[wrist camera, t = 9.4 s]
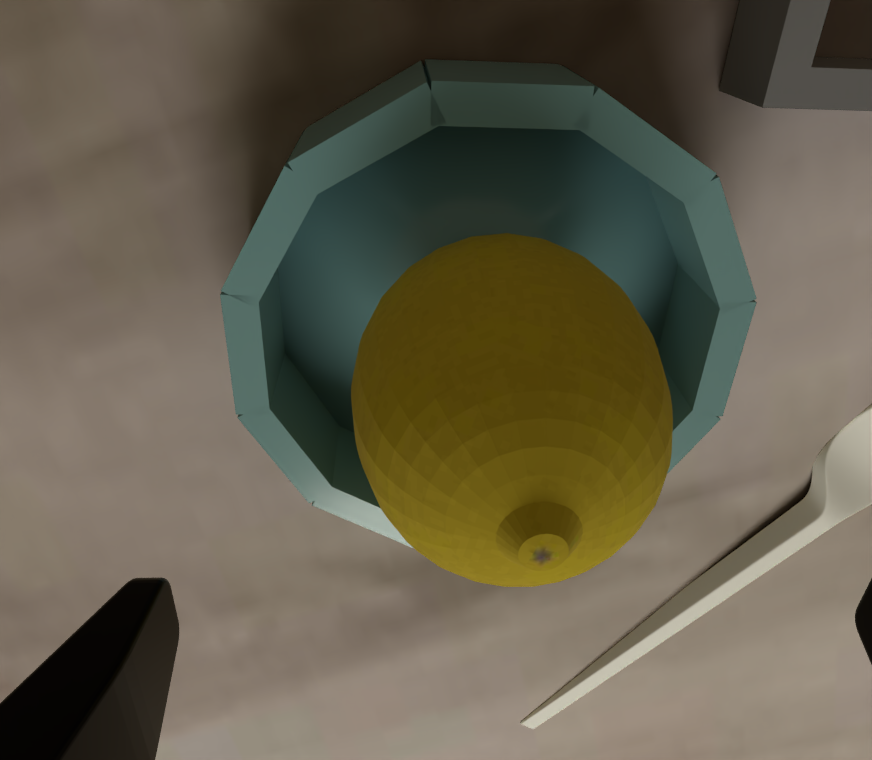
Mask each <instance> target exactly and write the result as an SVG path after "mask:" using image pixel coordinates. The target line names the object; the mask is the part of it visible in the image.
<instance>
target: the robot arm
mask: <svg viewBox="0 0 872 760" xmlns="http://www.w3.org/2000/svg"><path fill="white" fill-rule="evenodd" d="M855 623H856V627H857V631H858V633H859V636H860V638H861V640H862V643H863V645H864V648H865V650H866V652H867V655H868V657H869V660H870V662H871V664H872V579H871V581H870V583H869V585H868V587H867V589H866V591H865V593H864V595H863V597H862V599H861V601H860V603H859V605H858V607H857V609H856V613H855ZM178 640H179V622H178V617H177V613H176V608H175V604H174V599H173V595H172V590H171V586H170V584H169V582H168V580H166V579H165V578H135V579H132V580H130V581H129V582H127V583H126V584H125V585H124V586H123V587H122V588H121V589H120V590H119V591H118V592H117V593H116V594H115V595H114V596H112V597H111V598H110V599H109V600H108V601H107V602H106V603H105V604H104V605H103V606H102V607H101V608H100V609H99V610H98V611H97V612H96V613H95V614H94V615H93V616H91V617H90V618H89V619H88V620H87V621H86V622H85V623H84V624H83V625H82V626H81V627H80V628H79V629H78V630H77V631H76V632H75V633H74V634H73V635H72V636H70V637H69V638H68V639H67V640H66V641H65V642H64V643H63V644H62V645H61V646H60V647H59V648H58V649H57V650H56V651H55V652H54V653H53V654H52V655H50V656H49V657H48V658H47V659H46V660H45V661H44V662H43V663H42V664H41V665H40V666H39V667H38V668H37V669H36V670H35V671H34V672H33V673H32V674H31V675H29V676H28V677H27V678H26V679H25V680H24V681H23V682H22V683H21V684H20V685H19V686H18V687H17V688H16V689H15V690H14V691H13V692H12V693H11V694H10V695H8V696H7V697H6V698H5V699H4V700H3V701H2V702H1V703H0V760H155V757H156V752H157V748H158V743H159V738H160V733H161V728H162V722H163V717H164V712H165V707H166V702H167V697H168V692H169V687H170V682H171V677H172V672H173V667H174V661H175V656H176V651H177V646H178Z"/></svg>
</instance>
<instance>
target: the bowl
mask: <svg viewBox="0 0 872 760" xmlns="http://www.w3.org/2000/svg"><path fill="white" fill-rule="evenodd" d="M502 233H510V234H516V235H523V236H529V237H536V238H542V239H545V240H548V241H550V242H552V243H555V244H557V245H559V246H562V247H564V248H566V249H569V250H571V251H573V252H576V253H578V254H580V255H582V256H583V257H585V258H586V259H588V260H589V261H590V262H591V263H592V264H594V265H595V266H596V267H597V268H599V269H600V270H601V271H602V272H604V273H605V274H606V275H607V276H608V277H610V278H611V279H612V280H613V281H614V282H616V283H617V284H618V285H619V286H620V287H621V288H622V290H623V291H624V292H625V293H626V295H627V296H628V297H629V299H630V300H631V302H632V303H633V305H634V306H635V308H636V310H637V311H638V313H639V314H640V316H641V317H642V319H643V320H644V322H645V323H646V325H647V326H648V328H649V330H650V332H651V333H652V335H653V338H654V340H655V343H656V345H657V348H658V352H659V355H660V358H661V362H662V365H663V369H664V372H665V376H666V379H667V383H668V387H669V390H670V395H671V402H672V413H673V431H672V454H671V461H670V467H669V469H668V472H667V474H668V473H669V472H670V470H671V469H672V468H673V467H674V466H675V465H676V464H677V463H678V462H679V461H680V460H681V459H682V458H683V457H684V456H685V455H686V454H687V453H688V452H689V451H690V450H691V449H692V448H693V447H694V446H695V445H696V444H697V443H698V442H699V441H700V440H701V439H702V438H703V437H704V436H705V435H706V434H707V433H708V432H709V431H710V430H711V429H712V428H713V426H714V425H715V424H716V423H717V422H718V421H719V420H720V418H719V416H723V413H724V409H725V406H726V403H727V399H728V396H729V393H730V389H731V386H732V383H733V379H734V376H735V373H736V369H737V366H738V362H739V359H740V356H741V352H742V349H743V346H744V342H745V339H746V336H747V332H748V329H749V326H750V322H751V319H752V316H753V312H754V309H755V306H756V301H754V300H755V299H756V295H755V292H754V289H753V286H752V282H751V279H750V276H749V273H748V269H747V266H746V263H745V260H744V257H743V253H742V250H741V247H740V244H739V240H738V237H737V234H736V231H735V227H734V224H733V221H732V218H731V214H730V211H729V208H728V205H727V202H726V198H725V195H724V192H723V189H722V185H721V182H720V179H719V177H718V176H717V175H716V173H715V172H714V171H712V170H711V169H710V168H708V167H707V166H705V165H704V164H703V163H701V162H700V161H699V160H697V159H696V158H694V157H693V156H692V155H690V154H689V153H688V152H686V151H685V150H684V149H682V148H681V147H679V146H678V145H677V144H675V143H674V142H673V141H671V140H670V139H668V138H667V137H666V136H664V135H663V134H662V133H660V132H659V131H658V130H656V129H655V128H653V127H652V126H651V125H649V124H648V123H647V122H645V121H644V120H642V119H641V118H640V117H638V116H637V115H636V114H634V113H633V112H632V111H630V110H629V109H627V108H626V107H625V106H623V105H622V104H621V103H619V102H618V101H616V100H615V99H614V98H612V97H611V96H610V95H608V94H607V93H606V92H604V91H603V90H601V89H600V88H599V87H597V86H595V85H594V84H592V83H590V82H589V81H587V80H585V79H584V78H582V77H581V76H579V75H577V74H576V73H574V72H572V71H571V70H569V69H567V68H566V67H564V66H561V65H559V64H546V63H518V62H489V61H461V60H432V59H425V68H424V66H423V64H422V61H419V62H417V63H415V64H414V65H412V66H410V67H409V68H407V69H405V70H404V71H402V72H400V73H398V74H397V75H395V76H393V77H392V78H390V79H388V80H387V81H385V82H383V83H381V84H380V85H378V86H376V87H375V88H373V89H371V90H370V91H368V92H366V93H364V94H363V95H361V96H359V97H358V98H356V99H354V100H353V101H351V102H349V103H347V104H346V105H344V106H342V107H341V108H339V109H337V110H336V111H334V112H332V113H330V114H329V115H327V116H325V117H324V118H322V119H320V120H319V121H317V122H315V123H313V124H312V125H310V126H308V127H307V128H306V130H304V131H303V133H302V135H301V137H300V139H299V141H298V142H297V144H296V146H295V148H294V150H293V151H292V153H291V155H290V157H289V159H288V160H287V162H286V164H285V166H284V168H283V170H282V172H281V174H280V176H279V178H278V180H277V182H276V184H275V185H274V187H273V189H272V191H271V193H270V195H269V197H268V199H267V201H266V203H265V205H264V207H263V209H262V211H261V213H260V215H259V217H258V219H257V221H256V223H255V225H254V227H253V229H252V231H251V233H250V235H249V237H248V239H247V241H246V242H245V244H244V246H243V248H242V250H241V252H240V254H239V256H238V258H237V260H236V262H235V264H234V266H233V268H232V270H231V272H230V274H229V276H228V278H227V280H226V282H225V284H224V286H223V288H222V290H221V291H222V292H221V294H220V297H221V305H222V312H223V320H224V328H225V335H226V343H227V350H228V358H229V365H230V373H231V380H232V388H233V396H234V403H235V411H236V414H239V415H238V419H239V420H240V421H241V422H242V424H243V425H244V426H245V427H246V428H247V430H248V431H249V432H250V433H251V434H252V436H253V437H254V438H255V439H256V440H257V442H258V443H259V444H260V445H261V446H262V448H263V449H264V450H265V451H266V452H267V454H268V455H269V456H270V457H271V458H272V460H273V461H274V462H275V463H276V464H277V466H278V467H279V468H280V469H281V470H282V472H283V473H284V474H285V475H286V476H287V478H288V479H289V480H290V481H291V482H292V484H293V485H294V486H295V487H296V488H297V490H298V491H299V492H300V493H301V494H302V495H303V497H304V498H305V499H306V500H307V501H308V503H311V502H312V506H314V507H317V508H319V509H322V510H324V511H326V512H329V513H331V514H333V515H336V516H338V517H341V518H343V519H345V520H348V521H350V522H353V523H355V524H357V525H360V526H362V527H364V528H367V529H369V530H372V531H374V532H376V533H379V534H381V535H383V536H386V537H388V538H391V539H393V540H395V541H398V542H400V543H402V544H405V545H407V546H410V547H412V546H411V545H410V544H409V543H408V542H407V541H406V540H405V539H404V538H403V537H402V535H401V534H400V533H399V532H398V531H397V529H396V528H395V527H394V526H393V525H392V523H391V522H390V521H389V520H388V518H387V517H386V515H385V514H384V512H383V511H382V509H381V508H380V506H379V504H378V501H377V499H376V497H375V495H374V492H373V490H372V488H371V485H370V483H369V481H368V478H367V476H366V474H365V471H364V469H363V467H362V464H361V461H360V458H359V455H358V450H357V446H356V441H355V433H354V423H353V412H352V402H351V385H352V378H353V373H354V368H355V363H356V358H357V353H358V348H359V343H360V340H361V337H362V334H363V332H364V330H365V328H366V326H367V324H368V322H369V321H370V319H371V317H372V315H373V313H374V311H375V309H376V307H377V305H378V303H379V301H380V299H381V297H382V296H383V295H384V294H385V293H386V292H387V291H388V289H389V288H390V287H391V286H392V285H393V284H394V283H395V282H396V281H397V280H398V279H399V278H400V276H401V275H402V274H403V273H404V272H405V271H406V270H407V269H408V268H409V267H410V266H412V265H413V264H415V263H416V262H418V261H419V260H421V259H422V258H424V257H425V256H427V255H429V254H430V253H432V252H433V251H435V250H436V249H438V248H440V247H443V246H446V245H449V244H452V243H454V242H457V241H460V240H463V239H466V238H469V237H472V236H482V235H492V234H502ZM412 548H413V547H412Z"/></svg>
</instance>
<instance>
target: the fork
mask: <svg viewBox="0 0 872 760" xmlns="http://www.w3.org/2000/svg"><path fill="white" fill-rule="evenodd" d="M871 504H872V404H871V405H870V406H869V407H868V408H866V409H865V410H864V411H863V412H861V413H860V414H859V415H858V416H857V417H856V418H854V419H853V420H852V421H851V422H850V423H849V424H848V425H846V426H845V427H844V428H843V429H842V430H840V431H839V432H838V433H837V434H836V435H835V436H834V437H833V438H832V439H831V440H830V441H829V442H828V443H827V444H826V445H825V446H824V448H823V449H822V450H821V452H820V453H819V454H818V456H817V458H816V460H815V462H814V464H813V467H812V480H811V486H810V489H809V491H808V493H807V495H806V496H805V497H804V499H803V500H801V501H800V502H799V503H798V504H796V505H795V506H794V507H792V508H791V509H790V510H788V511H787V512H786V513H784V514H783V515H782V516H780V517H779V518H778V519H776V520H775V521H774V522H772V523H771V524H769V525H768V526H767V527H765V528H764V529H763V530H761V531H760V532H759V533H757V534H756V535H755V536H753V537H752V538H751V539H749V540H748V541H747V542H745V543H744V544H743V545H741V546H740V547H739V548H737V549H736V550H735V551H733V552H732V553H731V554H729V555H728V556H727V557H725V558H724V559H722V560H721V561H720V562H718V563H717V564H716V565H714V566H713V567H712V568H710V569H709V570H708V571H706V572H705V573H704V574H702V575H701V576H700V577H698V578H697V579H696V580H694V581H693V582H692V583H690V584H689V585H688V586H687V587H685V588H684V589H683V590H682V591H680V592H679V593H678V594H677V595H676V596H674V597H673V598H672V599H671V600H670V601H668V602H667V603H666V604H665V605H663V606H662V607H661V608H660V609H659V610H657V611H656V612H655V613H654V614H653V615H651V616H650V617H649V618H648V619H646V620H645V621H644V622H643V623H642V624H640V625H639V626H638V627H637V628H635V629H634V630H633V631H632V632H631V633H629V634H628V635H627V636H626V637H625V638H623V639H622V640H621V641H620V642H618V643H617V644H616V645H615V646H614V647H612V648H611V649H610V650H609V651H607V652H606V653H605V654H604V655H603V656H601V657H600V658H599V659H598V660H596V661H595V662H594V663H593V664H591V665H590V666H589V667H588V668H587V669H585V670H584V671H583V672H582V673H580V674H579V675H578V676H577V677H575V678H574V679H573V680H572V681H571V682H569V683H568V684H567V685H566V686H564V687H563V688H562V689H561V690H559V691H558V692H557V693H556V694H555V695H553V696H552V697H551V698H550V699H548V700H547V701H546V702H545V703H543V704H542V705H541V706H540V707H538V708H537V709H536V710H535V711H533V712H532V713H531V714H530V715H528V716H527V717H526V718H525V719H523V720H522V721H521V722H520V723H521V724H522V725H524V726H527V727H529V728H532V729H534V728H536V727H537V726H539V725H540V724H542V723H543V722H545V721H546V720H548V719H549V718H551V717H552V716H554V715H555V714H557V713H558V712H560V711H561V710H563V709H564V708H566V707H567V706H569V705H570V704H572V703H573V702H575V701H576V700H577V699H579V698H580V697H582V696H583V695H585V694H586V693H588V692H589V691H591V690H592V689H594V688H595V687H597V686H598V685H600V684H601V683H603V682H604V681H606V680H607V679H609V678H610V677H612V676H613V675H614V674H616V673H617V672H619V671H620V670H622V669H623V668H625V667H626V666H628V665H629V664H631V663H632V662H634V661H635V660H637V659H638V658H640V657H641V656H643V655H644V654H646V653H647V652H649V651H650V650H652V649H653V648H654V647H656V646H657V645H659V644H660V643H662V642H663V641H665V640H666V639H668V638H669V637H671V636H672V635H674V634H675V633H677V632H678V631H680V630H681V629H683V628H684V627H686V626H687V625H689V624H690V623H691V622H693V621H694V620H696V619H697V618H699V617H700V616H702V615H703V614H705V613H706V612H708V611H709V610H711V609H712V608H714V607H715V606H717V605H718V604H720V603H721V602H723V601H724V600H725V599H727V598H728V597H730V596H731V595H733V594H734V593H736V592H737V591H739V590H740V589H742V588H743V587H745V586H746V585H748V584H749V583H751V582H752V581H754V580H755V579H757V578H758V577H760V576H761V575H762V574H764V573H765V572H767V571H768V570H770V569H771V568H773V567H774V566H776V565H777V564H779V563H780V562H782V561H783V560H785V559H786V558H788V557H789V556H791V555H792V554H794V553H795V552H797V551H798V550H799V549H801V548H802V547H804V546H805V545H807V544H808V543H810V542H811V541H813V540H814V539H816V538H817V537H819V536H820V535H822V534H823V533H825V532H826V531H828V530H829V529H830V528H832V527H833V526H835V525H836V524H838V523H839V522H841V521H843V520H844V519H846V518H848V517H850V516H851V515H853V514H855V513H857V512H858V511H860V510H862V509H864V508H866V507H867V506H869V505H871Z"/></svg>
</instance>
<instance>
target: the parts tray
mask: <svg viewBox="0 0 872 760" xmlns="http://www.w3.org/2000/svg"><path fill="white" fill-rule="evenodd" d="M829 4H830V0H740V2H739V6H738V10H737V15H736V19H735V23H734V28H733V32H732V37H731V41H730V45H729V50H728V54H727V58H726V63H725V67H724V71H723V76H722V80H721V84H720V89H719V91H721V92H724V93H727V94H729V95H732V96H734V97H737V98H739V99H742V100H744V101H747V102H750V103H752V104H755V105H757V106H760V107H762V108H793V109H824V110H856V111H872V59H859V58H832V57H814V56H815V52H816V49H817V46H818V42H819V39H820V35H821V32H822V28H823V25H824V21H825V18H826V14H827V11H828V7H829Z"/></svg>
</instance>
